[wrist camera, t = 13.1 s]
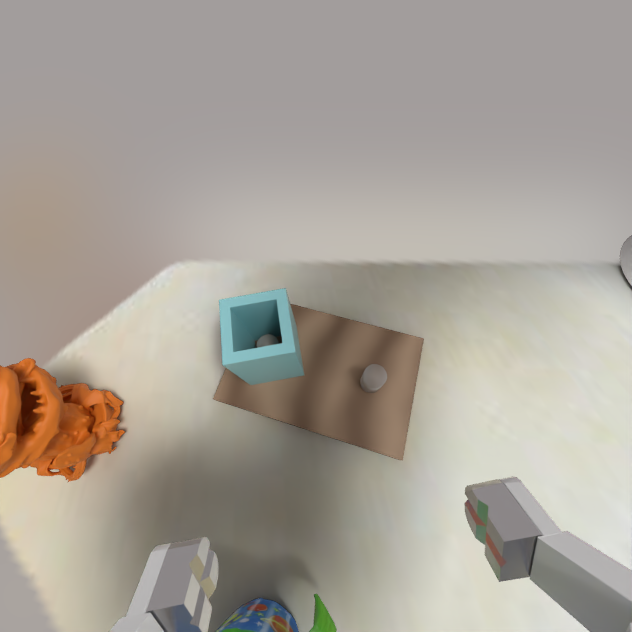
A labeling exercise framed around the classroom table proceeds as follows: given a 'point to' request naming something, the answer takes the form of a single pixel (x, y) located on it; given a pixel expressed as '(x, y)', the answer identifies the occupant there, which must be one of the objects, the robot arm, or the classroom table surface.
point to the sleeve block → (248, 326)
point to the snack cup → (273, 618)
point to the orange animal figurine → (52, 422)
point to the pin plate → (339, 383)
